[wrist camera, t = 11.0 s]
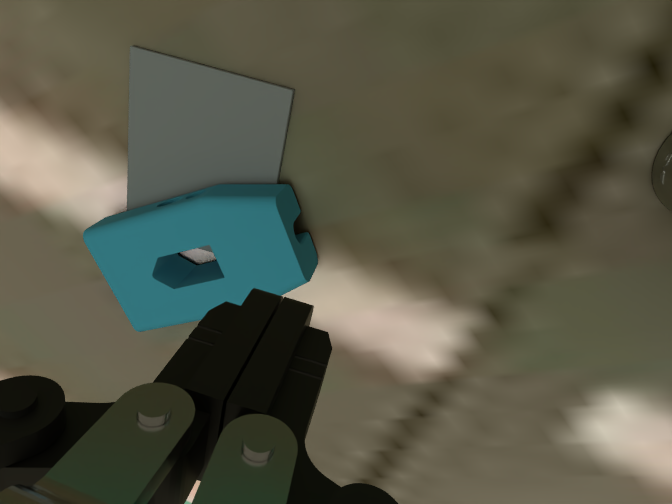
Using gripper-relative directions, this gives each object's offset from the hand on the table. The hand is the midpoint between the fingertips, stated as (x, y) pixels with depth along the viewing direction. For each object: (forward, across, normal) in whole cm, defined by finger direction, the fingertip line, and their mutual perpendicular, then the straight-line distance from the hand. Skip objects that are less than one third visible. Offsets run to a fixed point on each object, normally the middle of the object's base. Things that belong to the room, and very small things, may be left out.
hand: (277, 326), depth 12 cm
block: (+30, +5, +13) cm, 33 cm away
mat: (+33, +16, +10) cm, 38 cm away
